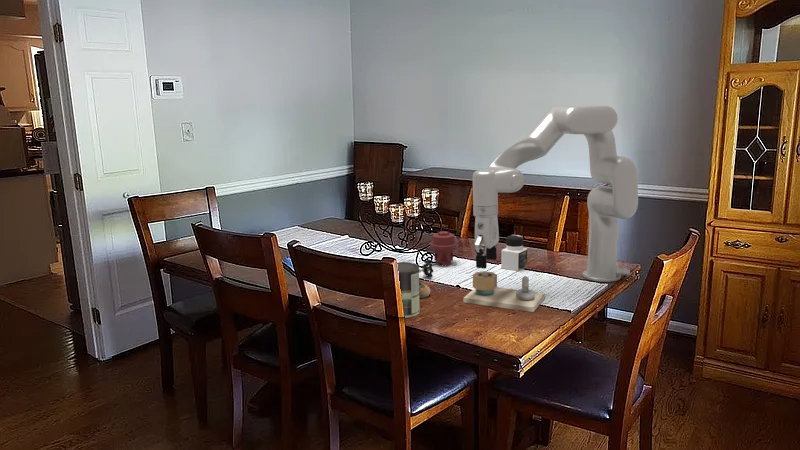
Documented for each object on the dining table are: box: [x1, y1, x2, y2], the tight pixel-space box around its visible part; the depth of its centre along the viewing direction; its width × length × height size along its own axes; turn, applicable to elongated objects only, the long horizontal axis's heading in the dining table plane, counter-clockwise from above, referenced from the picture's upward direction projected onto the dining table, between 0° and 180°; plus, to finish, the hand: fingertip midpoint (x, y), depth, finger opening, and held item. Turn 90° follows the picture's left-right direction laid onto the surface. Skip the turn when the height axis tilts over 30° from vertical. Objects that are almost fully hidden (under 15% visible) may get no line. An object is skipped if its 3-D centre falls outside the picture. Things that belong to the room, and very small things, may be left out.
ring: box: [472, 270, 498, 291], centre depth 195 cm, size 7×7×4 cm
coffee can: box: [396, 261, 421, 319], centre depth 183 cm, size 10×10×14 cm
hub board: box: [462, 271, 546, 313], centre depth 192 cm, size 22×14×8 cm, turn 63°
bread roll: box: [419, 282, 431, 299], centre depth 201 cm, size 11×11×5 cm
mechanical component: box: [429, 230, 458, 267], centre depth 234 cm, size 12×10×10 cm
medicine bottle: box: [500, 234, 528, 272], centre depth 227 cm, size 7×7×12 cm
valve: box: [419, 259, 434, 279], centre depth 216 cm, size 7×7×12 cm
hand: (486, 263), depth 194 cm, fingers open, 9 cm apart
